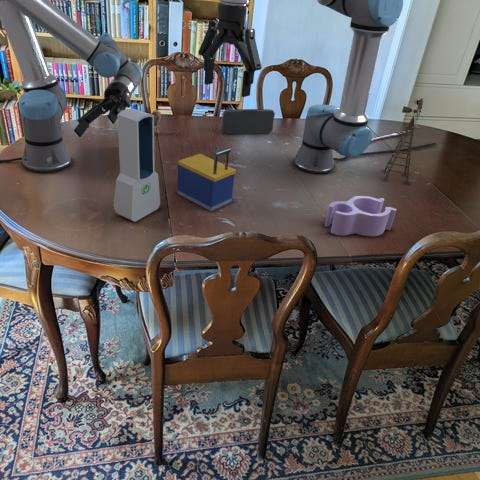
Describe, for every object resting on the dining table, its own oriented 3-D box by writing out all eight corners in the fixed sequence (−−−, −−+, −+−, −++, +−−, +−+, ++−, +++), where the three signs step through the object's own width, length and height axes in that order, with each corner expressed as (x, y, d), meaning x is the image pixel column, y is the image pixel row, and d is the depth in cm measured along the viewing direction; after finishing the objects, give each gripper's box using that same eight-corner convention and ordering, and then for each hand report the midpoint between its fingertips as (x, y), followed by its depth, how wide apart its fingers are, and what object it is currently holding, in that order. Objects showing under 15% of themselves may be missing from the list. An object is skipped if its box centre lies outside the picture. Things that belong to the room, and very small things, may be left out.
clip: (337, 240, 135) (342, 219, 131) (318, 218, 145) (322, 198, 141) (395, 233, 141) (402, 213, 137) (373, 213, 151) (378, 194, 147)
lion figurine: (159, 130, 196) (159, 108, 191) (162, 134, 192) (162, 113, 187) (124, 131, 191) (123, 109, 186) (126, 135, 187) (125, 113, 182)
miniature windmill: (407, 184, 173) (433, 103, 157) (384, 180, 174) (407, 99, 158) (405, 174, 181) (429, 96, 164) (383, 170, 182) (405, 93, 165)
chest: (231, 201, 149) (234, 172, 144) (211, 211, 143) (213, 181, 137) (198, 184, 157) (199, 157, 151) (177, 193, 150) (177, 164, 145)
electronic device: (132, 223, 132) (128, 120, 116) (113, 215, 135) (106, 113, 119) (161, 207, 141) (161, 110, 125) (142, 199, 144) (140, 103, 128)
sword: (405, 131, 224) (406, 128, 224) (410, 133, 222) (411, 130, 222) (362, 142, 208) (362, 140, 208) (367, 144, 206) (368, 142, 206)
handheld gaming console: (270, 130, 208) (273, 108, 202) (272, 133, 206) (275, 110, 200) (221, 132, 201) (222, 109, 195) (222, 134, 199) (224, 111, 193)
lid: (235, 173, 143) (238, 147, 139) (214, 181, 137) (216, 155, 133) (199, 156, 151) (200, 132, 147) (177, 164, 145) (178, 139, 140)
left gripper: (154, 89, 152) (132, 124, 137) (97, 113, 163) (72, 148, 148) (141, 68, 148) (117, 102, 133) (84, 95, 159) (56, 129, 144)
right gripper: (282, 11, 112) (270, 99, 124) (207, -4, 125) (203, 77, 136) (263, 12, 107) (253, 104, 119) (187, -4, 120) (184, 80, 131)
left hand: (93, 126), depth 141 cm, fingers open, 13 cm apart
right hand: (226, 89), depth 127 cm, fingers open, 13 cm apart
